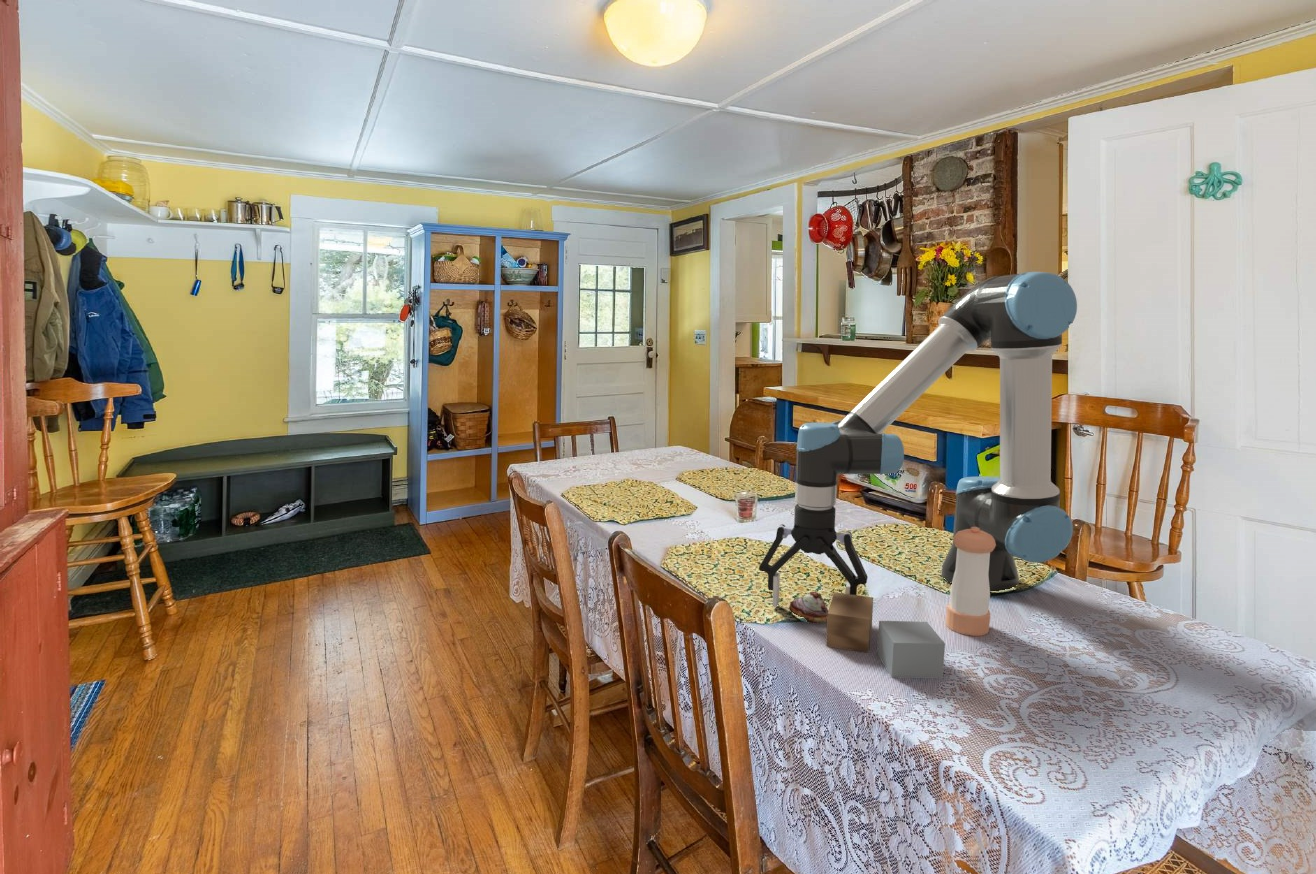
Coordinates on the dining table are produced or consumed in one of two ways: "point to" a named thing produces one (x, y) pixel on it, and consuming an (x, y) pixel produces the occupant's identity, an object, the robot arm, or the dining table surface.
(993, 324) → the robot arm
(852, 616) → the walnut block
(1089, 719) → the dining table surface
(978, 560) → the pepper shaker
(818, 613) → the pastry
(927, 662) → the slate block
